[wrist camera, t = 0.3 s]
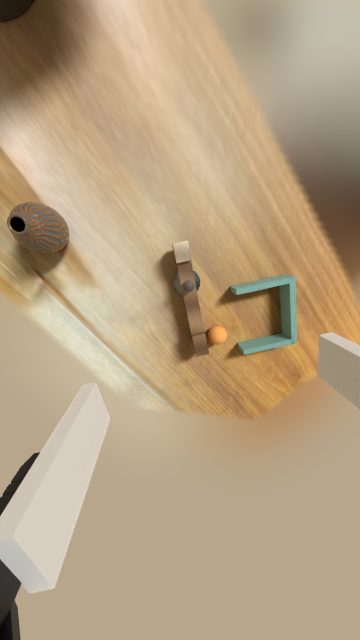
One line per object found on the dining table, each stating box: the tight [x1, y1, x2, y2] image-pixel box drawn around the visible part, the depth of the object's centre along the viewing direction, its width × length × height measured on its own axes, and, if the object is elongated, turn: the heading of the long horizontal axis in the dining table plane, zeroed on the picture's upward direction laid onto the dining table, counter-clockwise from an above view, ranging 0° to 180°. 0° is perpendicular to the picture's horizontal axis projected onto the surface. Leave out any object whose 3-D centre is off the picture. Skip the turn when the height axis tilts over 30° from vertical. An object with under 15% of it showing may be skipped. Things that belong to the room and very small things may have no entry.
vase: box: [7, 202, 69, 254], centre depth 29 cm, size 7×7×9 cm
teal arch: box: [230, 275, 297, 355], centre depth 39 cm, size 13×10×4 cm
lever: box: [172, 240, 209, 357], centre depth 36 cm, size 20×2×4 cm, turn 12°
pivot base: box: [173, 271, 200, 296], centre depth 37 cm, size 5×5×1 cm
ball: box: [208, 326, 227, 344], centre depth 39 cm, size 4×4×4 cm
